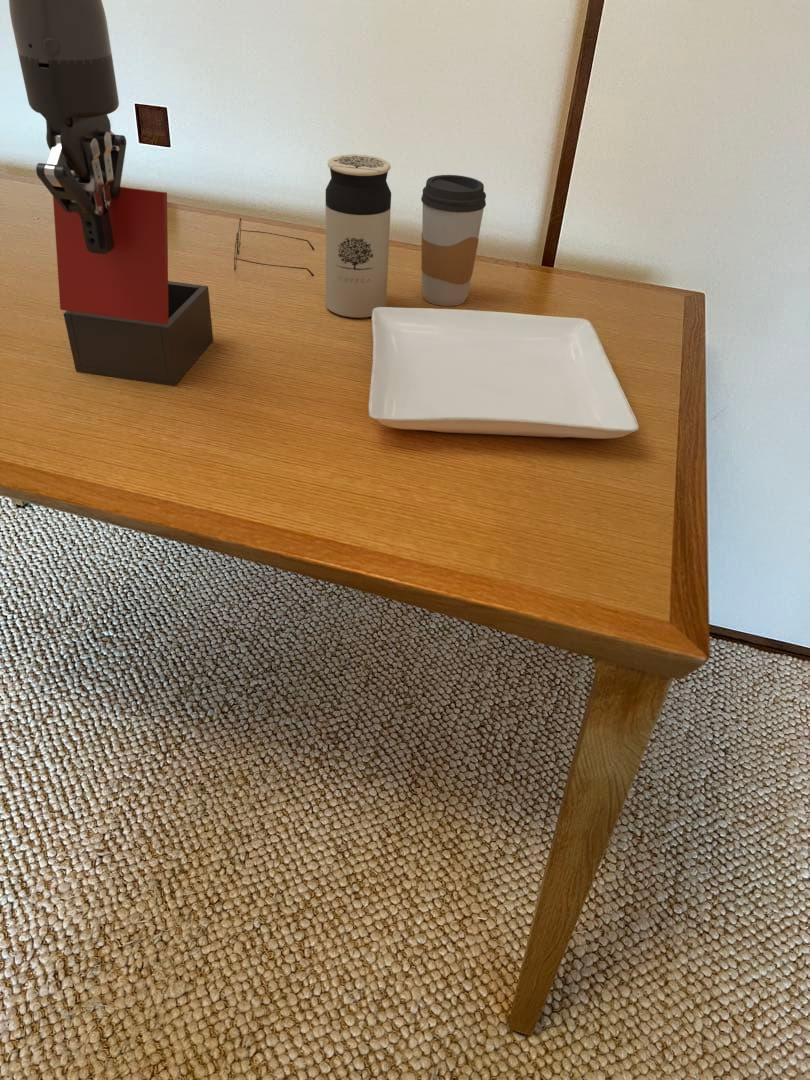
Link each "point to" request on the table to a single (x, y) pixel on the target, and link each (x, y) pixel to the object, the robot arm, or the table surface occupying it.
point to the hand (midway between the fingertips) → (101, 250)
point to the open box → (144, 339)
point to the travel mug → (357, 235)
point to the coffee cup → (450, 236)
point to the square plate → (494, 375)
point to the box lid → (117, 260)
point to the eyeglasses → (260, 263)
